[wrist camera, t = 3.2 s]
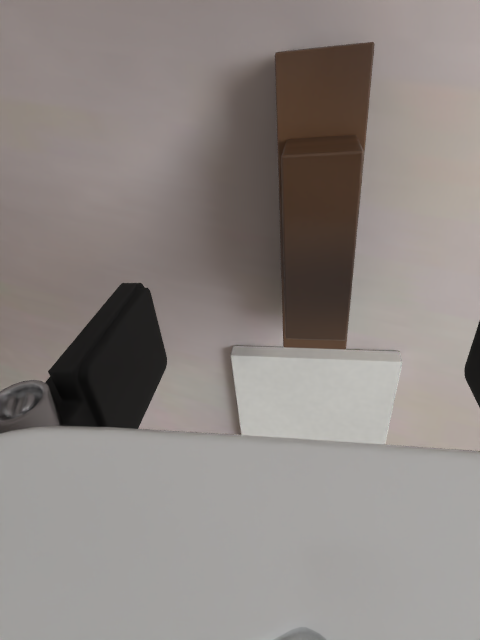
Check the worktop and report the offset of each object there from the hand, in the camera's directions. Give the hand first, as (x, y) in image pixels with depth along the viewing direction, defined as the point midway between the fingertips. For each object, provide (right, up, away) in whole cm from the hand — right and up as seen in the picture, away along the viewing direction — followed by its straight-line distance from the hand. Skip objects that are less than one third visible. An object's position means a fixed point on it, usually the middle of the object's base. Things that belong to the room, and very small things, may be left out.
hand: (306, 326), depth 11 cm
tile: (+3, -7, +16) cm, 18 cm away
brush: (+2, +6, +7) cm, 9 cm away
